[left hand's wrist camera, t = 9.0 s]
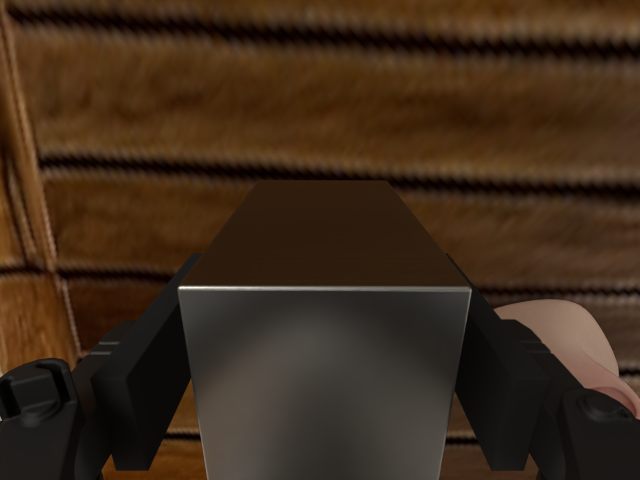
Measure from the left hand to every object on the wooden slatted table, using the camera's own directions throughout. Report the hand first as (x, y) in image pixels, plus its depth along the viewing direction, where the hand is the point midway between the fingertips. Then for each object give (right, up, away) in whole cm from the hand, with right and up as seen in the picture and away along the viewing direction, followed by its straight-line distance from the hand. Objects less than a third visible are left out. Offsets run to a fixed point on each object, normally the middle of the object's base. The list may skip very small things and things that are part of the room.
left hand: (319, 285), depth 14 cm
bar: (0, -6, +4) cm, 7 cm away
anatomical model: (+18, -8, +17) cm, 26 cm away
